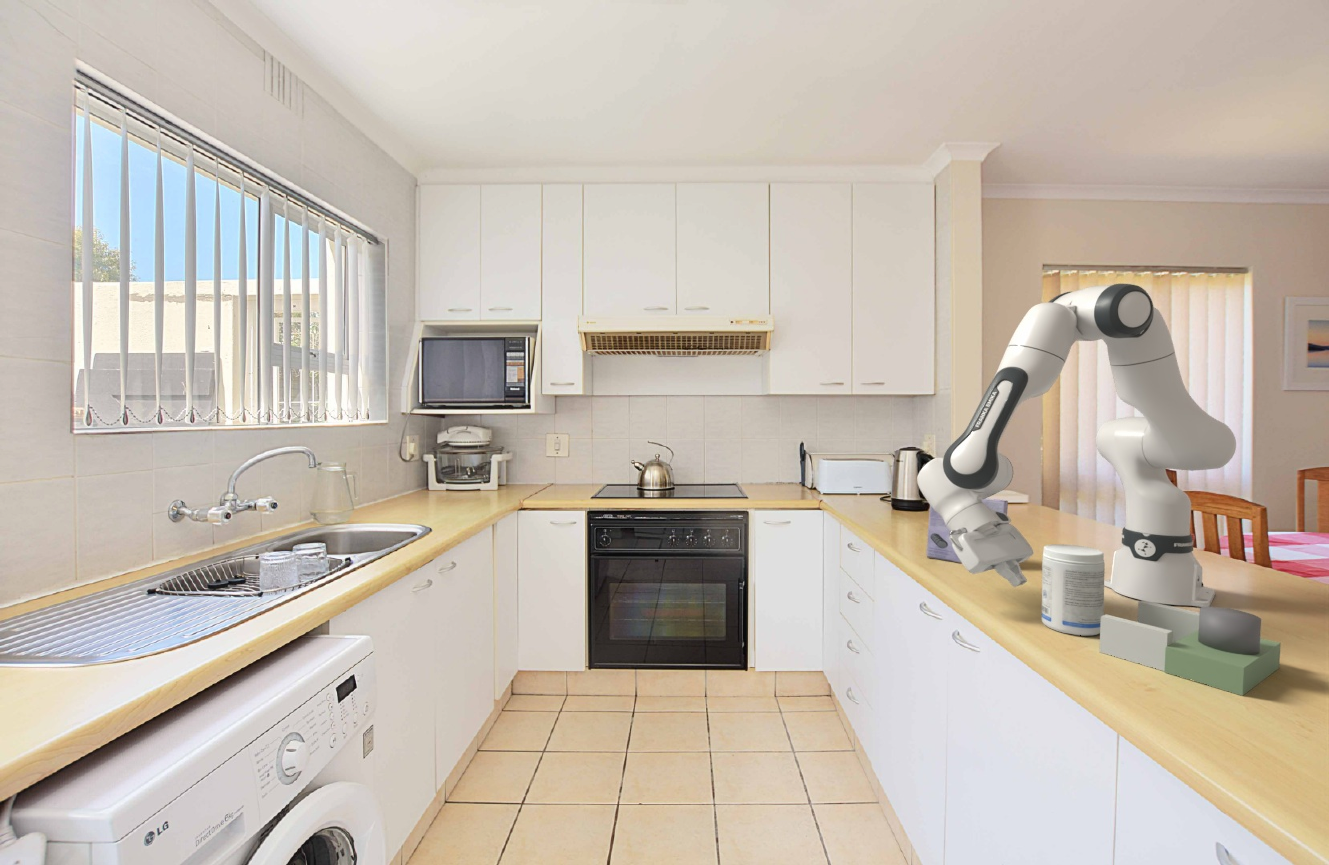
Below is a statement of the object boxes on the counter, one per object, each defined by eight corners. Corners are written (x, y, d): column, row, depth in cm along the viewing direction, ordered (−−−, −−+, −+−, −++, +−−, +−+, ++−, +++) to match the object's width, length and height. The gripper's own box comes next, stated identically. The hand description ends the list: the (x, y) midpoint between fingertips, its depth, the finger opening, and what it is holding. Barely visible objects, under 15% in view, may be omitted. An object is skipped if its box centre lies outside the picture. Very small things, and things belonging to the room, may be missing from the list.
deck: (1142, 632, 112) (1144, 583, 112) (1279, 667, 97) (1282, 611, 97) (1097, 652, 102) (1100, 599, 102) (1242, 695, 87) (1245, 633, 87)
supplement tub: (1112, 631, 113) (1115, 551, 112) (1088, 641, 107) (1092, 557, 107) (1054, 616, 121) (1057, 541, 120) (1030, 625, 115) (1033, 546, 115)
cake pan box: (1009, 567, 159) (1012, 498, 158) (1005, 571, 155) (1008, 500, 154) (931, 555, 171) (933, 491, 170) (925, 558, 167) (927, 493, 166)
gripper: (956, 522, 122) (1004, 583, 114) (1011, 513, 133) (1058, 568, 125) (934, 540, 125) (980, 600, 118) (989, 530, 137) (1034, 585, 129)
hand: (1021, 584), depth 121 cm, fingers closed
